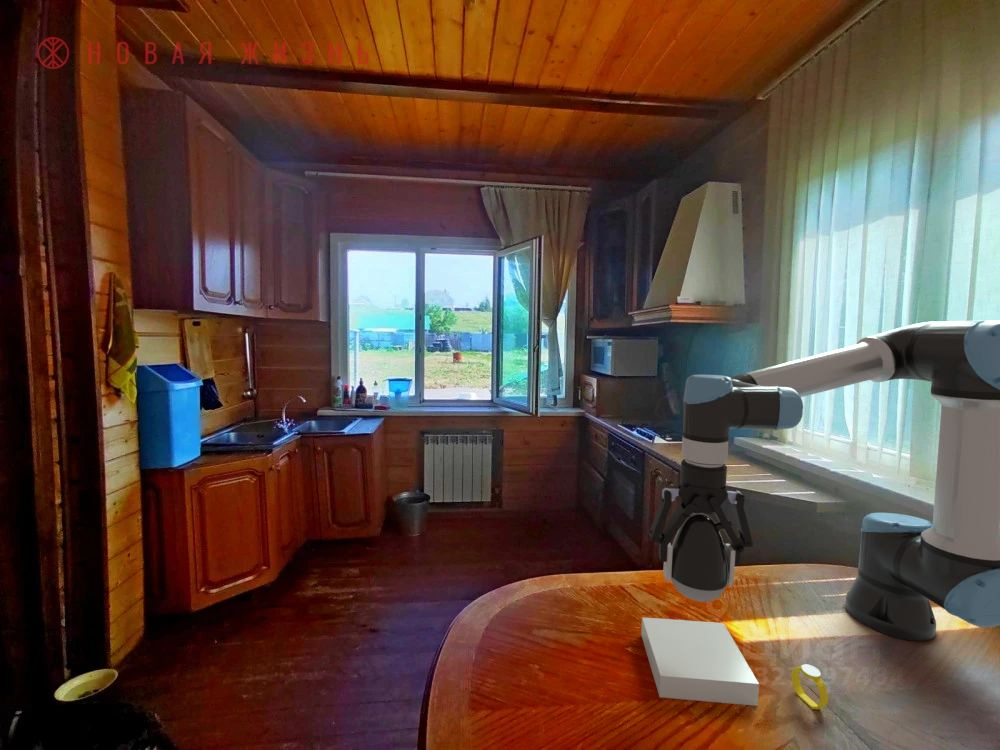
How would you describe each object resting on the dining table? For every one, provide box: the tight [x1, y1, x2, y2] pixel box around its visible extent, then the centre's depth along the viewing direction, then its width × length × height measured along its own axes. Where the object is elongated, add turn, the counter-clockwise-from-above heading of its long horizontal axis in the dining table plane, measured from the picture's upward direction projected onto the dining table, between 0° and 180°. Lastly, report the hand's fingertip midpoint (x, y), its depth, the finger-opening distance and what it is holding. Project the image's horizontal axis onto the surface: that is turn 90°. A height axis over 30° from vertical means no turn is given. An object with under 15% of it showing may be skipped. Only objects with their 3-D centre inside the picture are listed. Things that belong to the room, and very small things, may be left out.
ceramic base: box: [640, 617, 760, 707], centre depth 86 cm, size 16×16×4 cm
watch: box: [790, 663, 829, 710], centre depth 78 cm, size 6×3×6 cm, turn 12°
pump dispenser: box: [671, 513, 733, 603], centre depth 84 cm, size 10×10×15 cm
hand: (697, 579), depth 84 cm, fingers closed on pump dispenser, 10 cm apart
